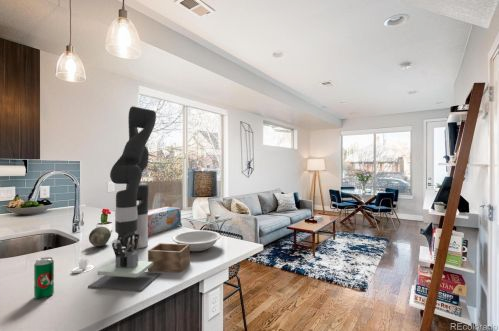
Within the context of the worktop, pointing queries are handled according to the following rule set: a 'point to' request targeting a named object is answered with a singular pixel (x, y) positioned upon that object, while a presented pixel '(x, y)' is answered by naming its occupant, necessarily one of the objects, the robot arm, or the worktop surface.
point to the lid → (131, 270)
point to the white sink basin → (197, 239)
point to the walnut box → (169, 257)
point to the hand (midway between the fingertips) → (126, 264)
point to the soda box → (163, 219)
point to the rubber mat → (125, 282)
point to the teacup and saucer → (82, 266)
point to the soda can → (43, 277)
